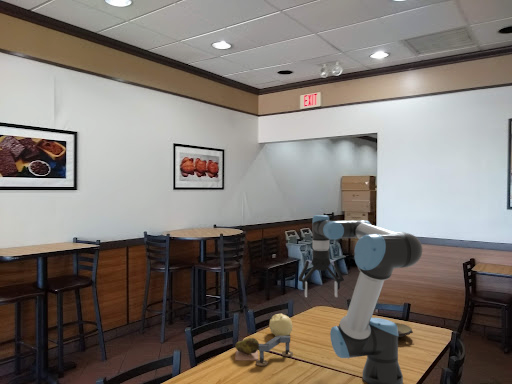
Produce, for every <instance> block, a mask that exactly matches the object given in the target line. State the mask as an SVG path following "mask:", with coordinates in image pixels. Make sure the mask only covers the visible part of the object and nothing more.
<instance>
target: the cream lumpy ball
mask: <svg viewBox="0 0 512 384" xmlns="http://www.w3.org/2000/svg"><path fill="white" fill-rule="evenodd" d="M268 325H269V329H270V333H271V334H272V335H274V337H276V336H290V334H291V333H292V332H293V321H292V319H291V318H290V317H289V316H288V315H286V314H283V313H276V314H274V315H272V317H271V318H270V319H269V323H268Z"/></svg>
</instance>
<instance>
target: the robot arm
mask: <svg viewBox="0 0 512 384" xmlns="http://www.w3.org/2000/svg"><path fill="white" fill-rule="evenodd" d="M311 222H312V223H311V226H312V227H311V229H312V251H311V252H312V258H311V260H308V259H305V262H304V267H303V268H302V269H301V270H302V271H301V273H300V274H299V276H298V277H297V279H298V281H299V282H301V285H302V290H304V297H305V298H308V282H307V280H308V279H310V277H311V276H312V275H313V274H314V272H316V271H319V272H320V271H323V272H324V271H326V270H327V271H328V274H330V275H331V277H332V278H333V279H334V280H335V281H334V297H335V298H338V290H340V289H341V287H340V286H341V284H340V283H341V282H344V281H345V279H344V277H343V274H342V273H341V271H340V268H339V267H338V262H337V260H336V259H333V260H330V250H329V249H330V240H339V239H357V242H356V244H355V247H354V261H355V264H356V266H357V269H358V271H359V274H358V276H357V280H356V283H355V287H354V290H353V293H352V296H351V300H350V303H349V306H348V309H347V313H346V315H344V316H343V317H342V318H341V319H340V322H339V325H338V326H337V325H335V326H332V327H331V328H330V333H329V335H330V342H331V347H332V349H333V352H334V354H335V355H336V356H337V357H339V358H340V359H350V358H360V357H365V356H366V361H365V363H364V366H363V369H362V380H363V381H364V382H365V383H366V384H403V383H404V377H403V373H402V369H401V366H400V364H399V337H398V328H397V325H396V324H395V323H396V322H394V321H391V320H390V319H389V320H388V319H385V318H381V317H380V318H379V317H373V314H374V311H375V309H376V305H377V303H378V299H379V296H380V295H381V291H382V290H383V289H382V288H383V286H384V282H385V281H387V280H389V279H390V278H391V277H392V275H393V272H394V269H400V268H401V269H403V268H411V267H412V266H414V265H416V264H417V263H418V262H419V260H420V259H421V258H422V254H423V245H422V243H421V241H420V240H419V238H418V237H417V236H416V235H414V234H411V233H407V232H404V231H398V232H396V231H392V230H388V229H387V228H386V229H385V228H383V227H379V226H376V225H372V223H371V222H370V221H369V220H363V219H359V220H330V216H329V215H325V214H324V215H322V214H317V215H313V216H312V221H311ZM311 264H312V267H311V268H310V270H309V271H308V268H309V266H310V265H311ZM330 265H332V266H333V267H334V270H335V272H336V273H337V275H336V274H335V273H334V272H333V271H332V270H331V268H330V267H329V266H330ZM307 271H308V272H307ZM306 272H307V273H306Z"/></svg>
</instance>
